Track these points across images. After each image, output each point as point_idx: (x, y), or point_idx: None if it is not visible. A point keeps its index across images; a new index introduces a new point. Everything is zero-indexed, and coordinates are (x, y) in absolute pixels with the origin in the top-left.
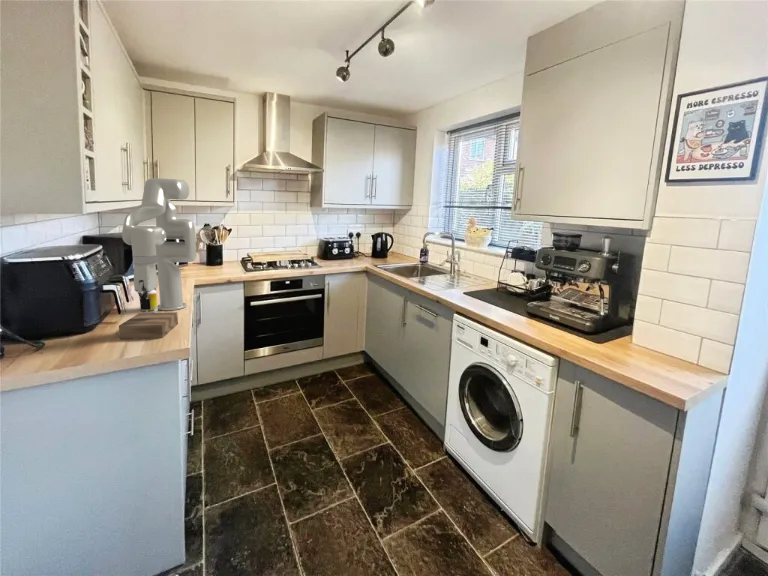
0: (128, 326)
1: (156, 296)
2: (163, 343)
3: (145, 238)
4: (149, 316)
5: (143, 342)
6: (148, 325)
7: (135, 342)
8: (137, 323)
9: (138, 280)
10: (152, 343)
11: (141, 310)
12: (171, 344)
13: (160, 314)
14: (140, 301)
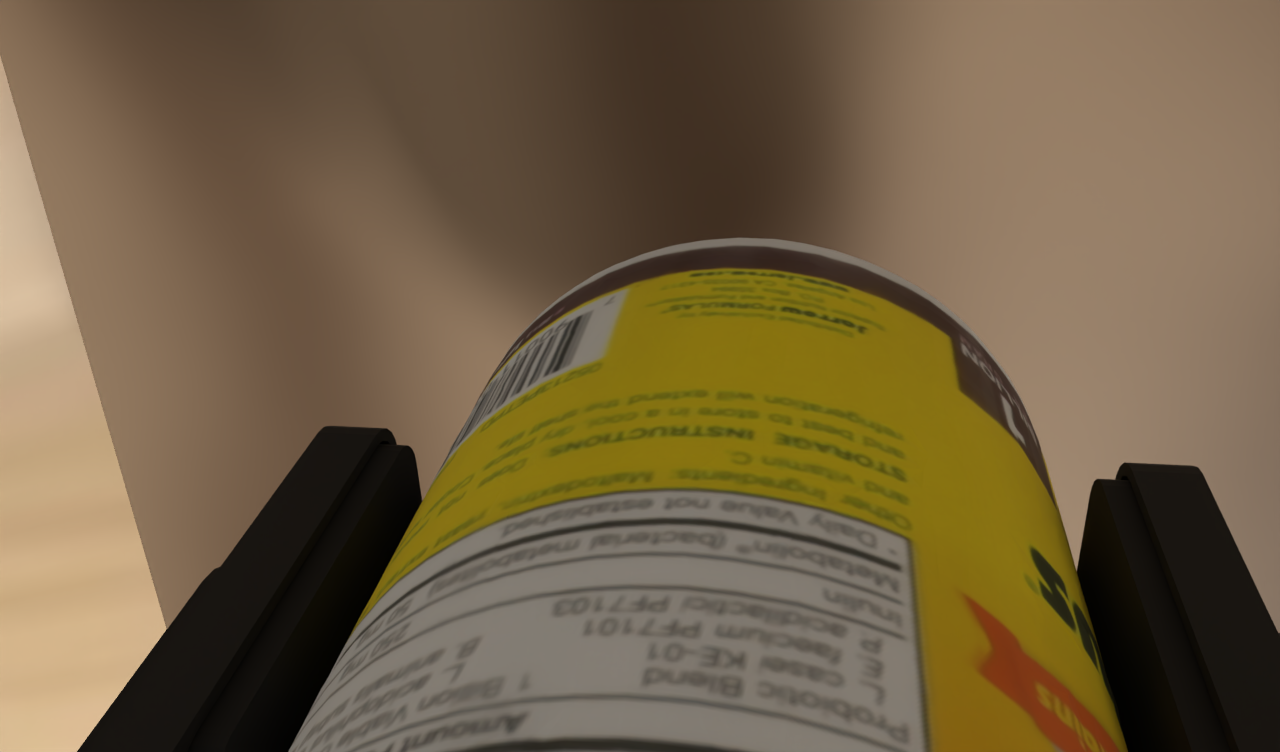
0: (11, 12)
1: None
2: (42, 602)
3: None
4: (1059, 257)
5: (31, 304)
6: (135, 482)
7: (4, 164)
8: (226, 190)
9: None
10: (11, 457)
11: (516, 345)
12: (21, 702)
13: (1277, 495)
14: (154, 682)
